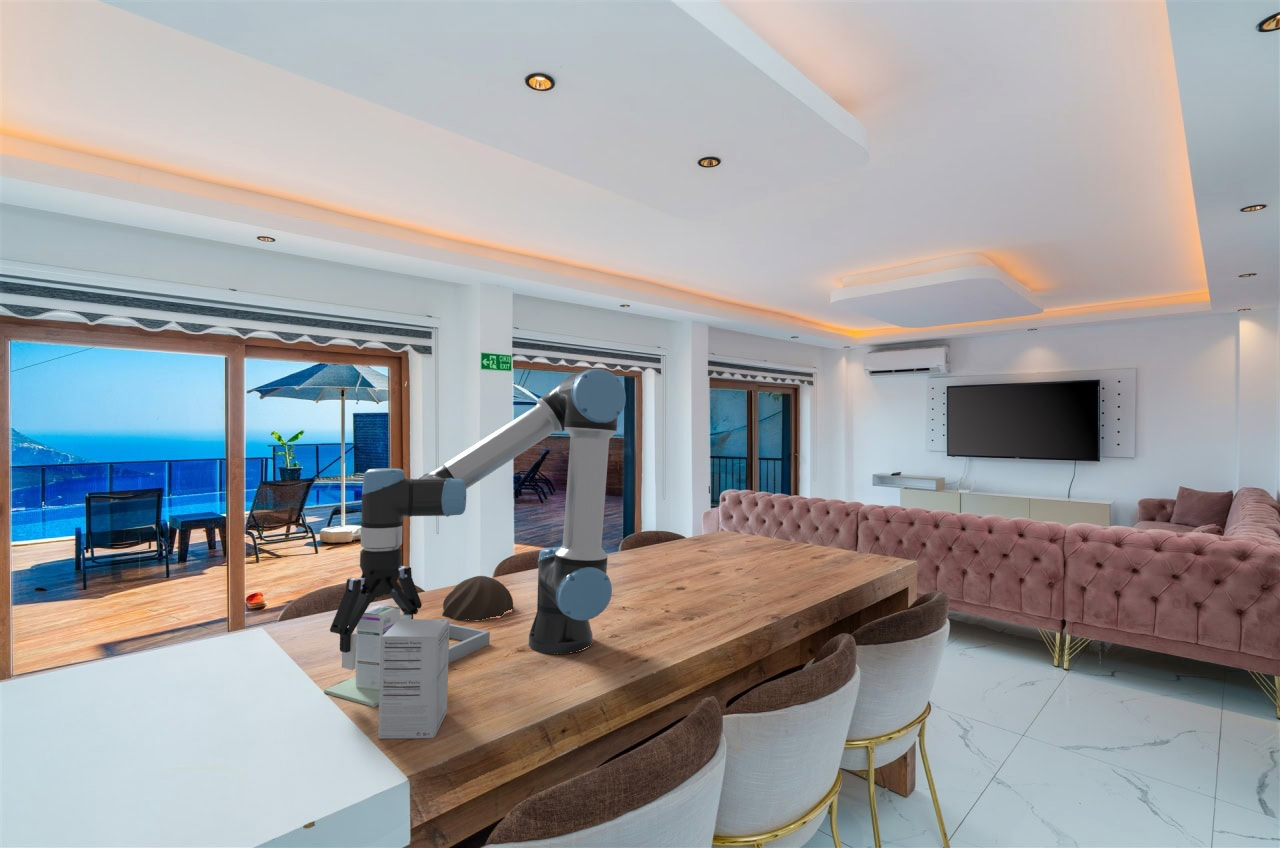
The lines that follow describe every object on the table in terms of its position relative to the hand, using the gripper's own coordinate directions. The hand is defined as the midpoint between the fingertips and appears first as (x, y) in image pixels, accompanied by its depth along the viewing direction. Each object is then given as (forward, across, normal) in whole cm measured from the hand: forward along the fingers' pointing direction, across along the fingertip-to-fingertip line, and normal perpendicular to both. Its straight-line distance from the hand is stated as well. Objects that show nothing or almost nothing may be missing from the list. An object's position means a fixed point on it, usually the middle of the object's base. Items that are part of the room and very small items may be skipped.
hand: (377, 656), depth 120 cm
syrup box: (+5, 0, 0) cm, 5 cm away
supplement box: (+6, +8, +18) cm, 21 cm away
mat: (+6, 0, 0) cm, 6 cm away
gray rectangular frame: (+6, -18, -4) cm, 20 cm away
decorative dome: (+6, -51, -17) cm, 54 cm away
